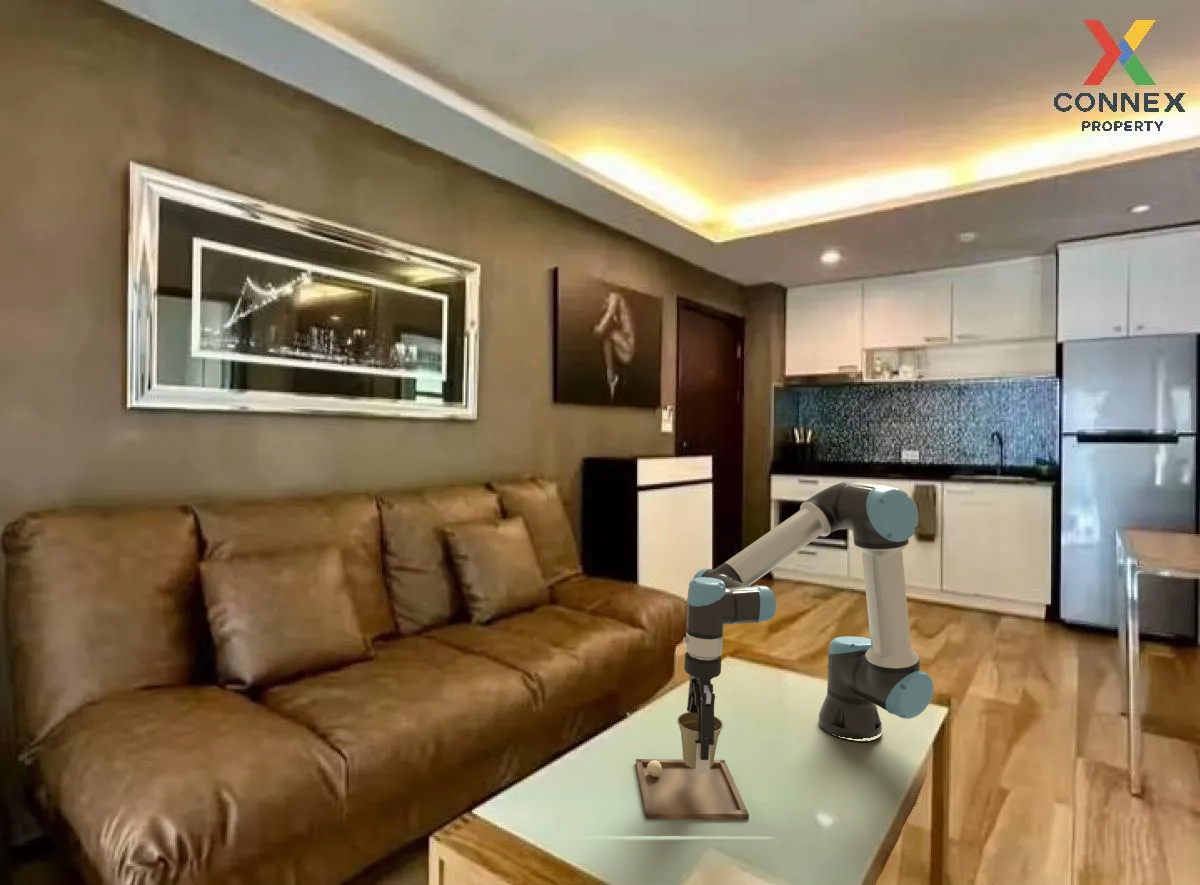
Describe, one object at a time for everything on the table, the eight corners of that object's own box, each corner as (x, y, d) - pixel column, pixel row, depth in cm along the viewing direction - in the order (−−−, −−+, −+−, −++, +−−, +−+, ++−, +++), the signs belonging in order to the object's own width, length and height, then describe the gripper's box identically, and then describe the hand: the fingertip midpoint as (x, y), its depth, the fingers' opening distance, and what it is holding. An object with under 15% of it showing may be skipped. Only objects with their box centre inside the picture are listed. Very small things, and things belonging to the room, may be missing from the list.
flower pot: (720, 777, 130) (722, 735, 130) (673, 770, 132) (675, 728, 132) (721, 754, 139) (723, 714, 139) (677, 748, 141) (679, 709, 141)
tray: (724, 766, 146) (724, 759, 146) (748, 821, 126) (748, 814, 126) (635, 765, 145) (635, 759, 145) (646, 821, 125) (646, 813, 125)
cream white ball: (660, 771, 142) (661, 757, 142) (662, 780, 139) (663, 765, 139) (645, 771, 142) (646, 757, 142) (647, 779, 139) (648, 765, 139)
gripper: (676, 636, 145) (672, 736, 146) (695, 673, 124) (689, 789, 125) (710, 637, 146) (705, 736, 146) (734, 674, 124) (728, 790, 125)
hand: (698, 761), depth 136 cm, fingers closed on flower pot, 8 cm apart
